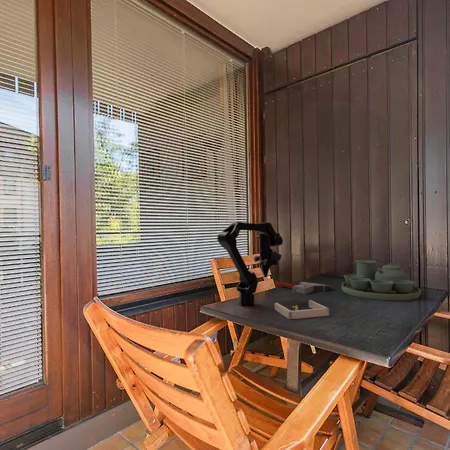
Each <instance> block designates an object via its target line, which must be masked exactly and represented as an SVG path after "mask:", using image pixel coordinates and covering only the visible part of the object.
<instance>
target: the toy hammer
mask: <svg viewBox="0 0 450 450" xmlns="http://www.w3.org/2000/svg"><path fill="white" fill-rule="evenodd" d="M274 285H275V286H277V287H284V288H290V289H292V293H293V294H299V295H300V294H301V295H307V294H310V293H313V292H327V291H328V290H329V289H330V288H332V285H327V284H321V283H314V282H306V281H299V283H298V284H294V283H293V284H292V283H285V282H277V281H276V282H275V283H274Z"/></svg>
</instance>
